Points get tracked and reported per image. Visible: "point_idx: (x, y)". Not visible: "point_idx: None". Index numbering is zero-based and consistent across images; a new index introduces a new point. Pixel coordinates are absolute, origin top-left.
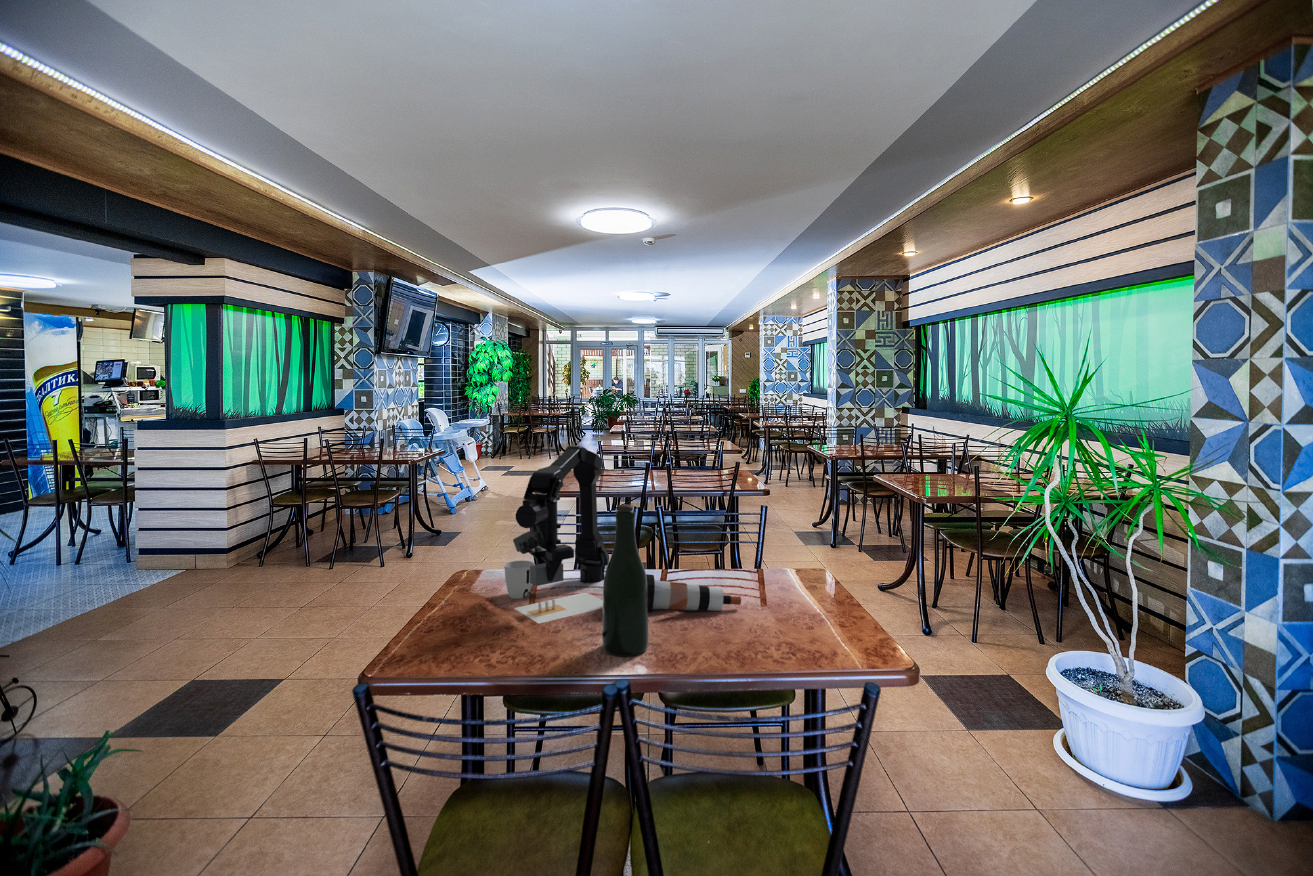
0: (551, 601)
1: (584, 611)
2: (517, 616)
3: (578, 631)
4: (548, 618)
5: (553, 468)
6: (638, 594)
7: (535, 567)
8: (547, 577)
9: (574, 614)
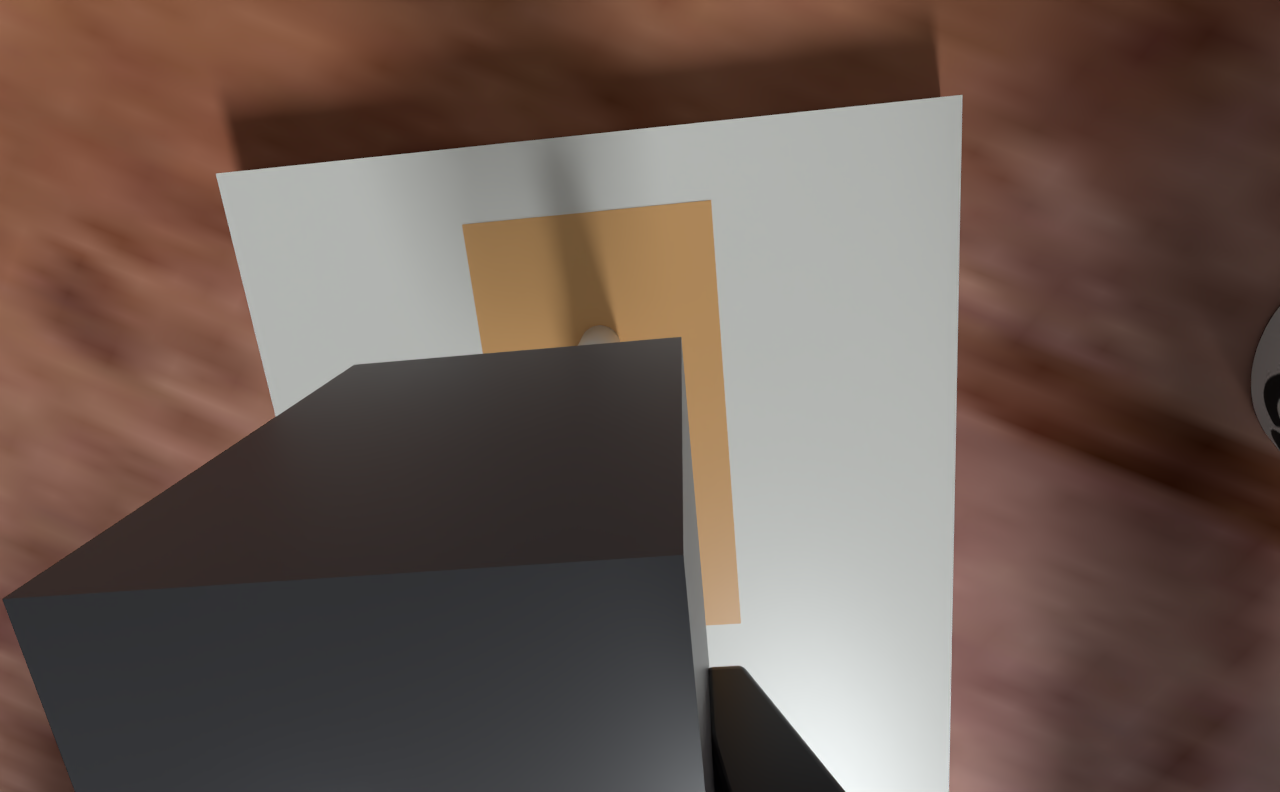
0: (896, 608)
1: None
2: (779, 91)
3: (14, 498)
4: (342, 348)
5: None
6: None
7: (246, 660)
8: None
9: None
